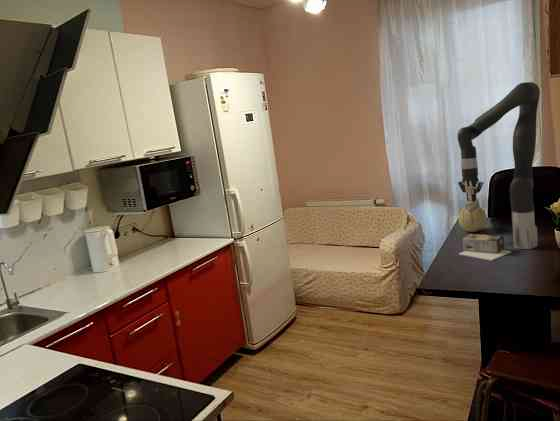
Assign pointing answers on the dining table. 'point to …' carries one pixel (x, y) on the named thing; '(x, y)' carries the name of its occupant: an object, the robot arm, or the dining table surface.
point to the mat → (485, 254)
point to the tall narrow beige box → (471, 202)
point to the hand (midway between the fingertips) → (471, 200)
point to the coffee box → (483, 243)
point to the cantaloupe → (472, 220)
